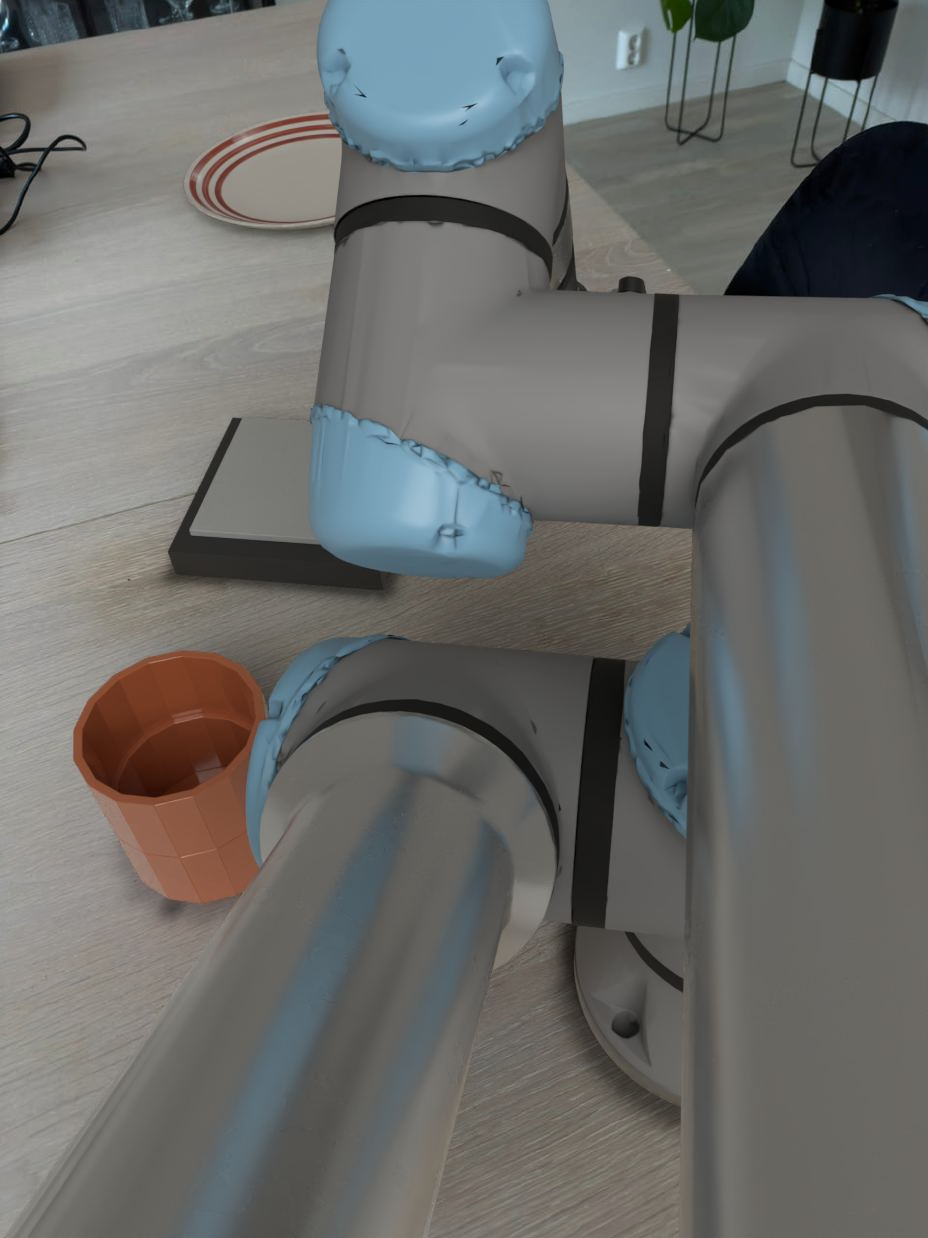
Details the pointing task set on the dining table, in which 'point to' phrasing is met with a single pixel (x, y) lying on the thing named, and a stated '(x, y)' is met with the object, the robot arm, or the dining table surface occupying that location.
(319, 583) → the scale
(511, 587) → the dining table surface
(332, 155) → the dinner plate
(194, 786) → the orange faceted hollow container
